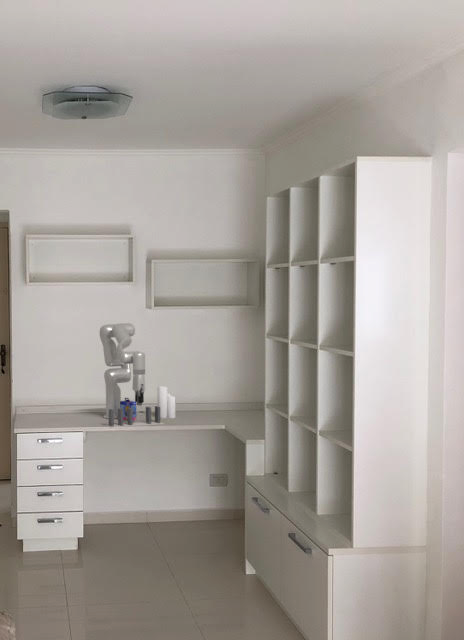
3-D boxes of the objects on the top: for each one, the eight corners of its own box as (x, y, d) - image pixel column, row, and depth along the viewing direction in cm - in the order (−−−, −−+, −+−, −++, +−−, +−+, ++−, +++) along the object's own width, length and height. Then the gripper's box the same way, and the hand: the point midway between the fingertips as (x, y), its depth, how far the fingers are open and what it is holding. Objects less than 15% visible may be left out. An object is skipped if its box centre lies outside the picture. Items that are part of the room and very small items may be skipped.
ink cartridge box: (119, 420, 598) (119, 397, 598) (125, 419, 603) (125, 396, 602) (130, 421, 592) (130, 398, 592) (136, 420, 596) (136, 397, 596)
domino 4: (139, 405, 576) (139, 389, 576) (136, 404, 581) (136, 388, 580) (142, 405, 577) (141, 389, 577) (139, 404, 581) (139, 388, 581)
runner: (104, 425, 576) (104, 424, 576) (157, 421, 591) (157, 421, 591) (110, 428, 565) (110, 427, 565) (165, 424, 580) (165, 423, 580)
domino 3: (130, 425, 574) (130, 408, 574) (127, 424, 579) (127, 407, 578) (132, 425, 575) (132, 408, 575) (129, 424, 579) (129, 407, 579)
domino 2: (120, 425, 572) (120, 409, 571) (118, 424, 576) (117, 408, 576) (123, 425, 572) (123, 409, 572) (120, 424, 577) (120, 408, 576)
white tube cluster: (157, 418, 605) (157, 387, 604) (157, 417, 612) (157, 386, 611) (175, 418, 606) (175, 387, 605) (175, 416, 613) (175, 386, 612)
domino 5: (148, 423, 579) (148, 407, 579) (145, 422, 584) (145, 406, 584) (151, 423, 580) (151, 407, 580) (148, 422, 585) (148, 406, 584)
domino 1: (111, 426, 569) (111, 410, 569) (108, 425, 573) (108, 409, 573) (113, 426, 570) (113, 409, 569) (111, 425, 574) (111, 408, 574)
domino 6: (157, 423, 582) (157, 407, 582) (154, 422, 587) (154, 406, 586) (160, 423, 583) (160, 406, 582) (157, 422, 587) (157, 406, 587)
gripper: (128, 371, 584) (128, 401, 585) (138, 373, 569) (138, 404, 569) (139, 371, 588) (140, 400, 588) (149, 373, 572) (150, 403, 573)
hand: (139, 401), depth 579 cm, fingers closed on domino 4, 4 cm apart
